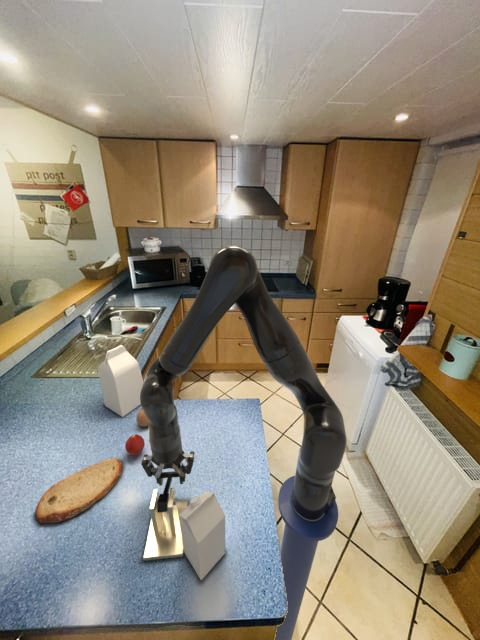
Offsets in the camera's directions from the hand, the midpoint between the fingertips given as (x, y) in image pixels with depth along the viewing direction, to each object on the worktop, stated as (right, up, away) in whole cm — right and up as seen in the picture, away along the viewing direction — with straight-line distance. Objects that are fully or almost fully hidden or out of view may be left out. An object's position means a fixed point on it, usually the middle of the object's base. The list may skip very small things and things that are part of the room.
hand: (171, 481), depth 70 cm
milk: (-28, +11, +34) cm, 46 cm away
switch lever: (+1, +1, -6) cm, 7 cm away
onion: (-15, +1, +13) cm, 20 cm away
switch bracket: (+1, -8, -7) cm, 10 cm away
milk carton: (+11, -10, -11) cm, 18 cm away
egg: (-16, +6, +24) cm, 30 cm away
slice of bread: (-26, -4, +2) cm, 27 cm away
